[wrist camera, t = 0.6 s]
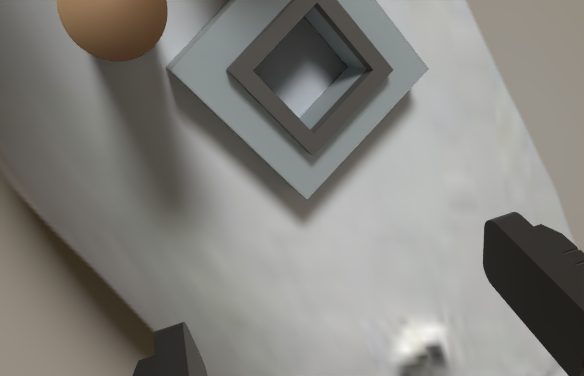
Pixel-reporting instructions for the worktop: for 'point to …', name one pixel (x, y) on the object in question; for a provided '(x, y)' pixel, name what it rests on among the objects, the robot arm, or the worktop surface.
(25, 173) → the worktop surface
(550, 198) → the worktop surface
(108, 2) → the dowel
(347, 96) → the socket
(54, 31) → the worktop surface
